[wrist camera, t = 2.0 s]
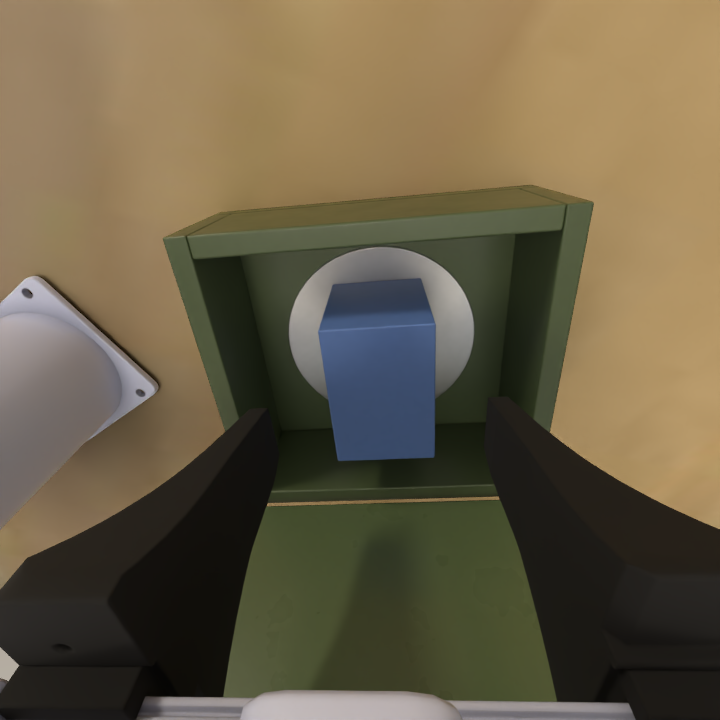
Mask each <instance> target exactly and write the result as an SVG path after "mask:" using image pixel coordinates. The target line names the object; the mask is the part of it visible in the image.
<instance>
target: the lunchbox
mask: <svg viewBox="0 0 720 720" xmlns="http://www.w3.org/2000/svg"><path fill="white" fill-rule="evenodd" d="M593 205H594V203H593V202H592V201H588V200H584V199H581V198H577V197H574V196H570V195H566V194H563V193H559V192H556V191H552V190H548V189H545V188H541V187H538V186H534V185H527V186H515V187H504V188H493V189H481V190H470V191H458V192H447V193H436V194H424V195H413V196H402V197H390V198H379V199H367V200H356V201H345V202H333V203H322V204H311V205H299V206H288V207H276V208H265V209H254V210H242V211H231V212H220V213H218V214H216V215H213V216H211V217H209V218H206V219H204V220H202V221H200V222H198V223H195V224H193V225H191V226H189V227H186V228H184V229H182V230H180V231H177V232H175V233H173V234H171V235H168V236H166V237H164V238H163V241H164V244H165V247H166V250H167V254H168V257H169V260H170V263H171V266H172V269H173V272H174V275H175V278H176V281H177V284H178V287H179V290H180V294H181V297H182V300H183V303H184V306H185V309H186V312H187V315H188V318H189V321H190V324H191V327H192V330H193V333H194V337H195V340H196V343H197V346H198V349H199V352H200V355H201V358H202V361H203V364H204V367H205V370H206V373H207V377H208V380H209V383H210V386H211V389H212V392H213V395H214V398H215V401H216V404H217V407H218V410H219V413H220V417H221V420H222V423H223V426H224V429H225V432H226V431H227V430H228V429H229V428H230V427H231V426H232V425H233V424H234V423H235V422H236V421H237V420H238V419H240V418H241V417H242V416H243V415H244V414H245V413H246V412H247V411H248V410H250V409H256V408H268V410H269V414H270V418H271V422H272V426H273V430H274V434H275V438H276V442H277V446H278V450H279V454H280V455H279V460H278V466H277V471H276V476H275V481H274V485H273V488H272V491H271V494H270V497H269V500H268V503H286V502H320V501H355V500H389V499H423V498H458V497H492V496H498V493H497V490H496V488H495V485H494V482H493V480H492V477H491V474H490V470H489V466H488V463H487V458H486V454H485V450H484V438H485V426H486V415H487V403H488V397H509V398H510V399H511V400H512V401H513V402H515V403H516V404H517V405H518V406H519V407H520V408H521V409H522V410H524V411H525V412H526V413H527V414H528V415H529V416H530V417H532V418H533V419H534V420H535V421H536V422H537V423H538V424H540V425H541V426H542V427H543V428H544V429H546V430H547V431H548V432H549V433H550V428H551V423H552V418H553V413H554V407H555V402H556V397H557V392H558V387H559V381H560V376H561V371H562V366H563V361H564V356H565V350H566V345H567V340H568V335H569V330H570V324H571V319H572V314H573V309H574V304H575V298H576V293H577V288H578V283H579V278H580V273H581V267H582V262H583V257H584V252H585V247H586V241H587V236H588V231H589V226H590V221H591V215H592V210H593ZM385 245H388V246H396V247H403V248H406V249H410V250H414V251H417V252H419V253H421V254H424V255H426V256H428V257H430V258H431V259H433V260H435V261H436V262H438V263H439V264H441V265H442V266H443V267H444V268H446V269H447V270H448V271H449V272H450V273H451V274H452V275H453V276H454V277H455V279H456V280H457V281H458V283H459V284H460V286H461V287H462V288H463V290H464V292H465V294H466V296H467V298H468V300H469V303H470V306H471V309H472V312H473V318H474V331H475V335H474V342H473V348H472V351H471V355H470V357H469V360H468V362H467V364H466V366H465V368H464V370H463V371H462V373H461V375H460V376H459V377H458V379H457V380H456V381H455V382H454V383H453V385H452V386H450V387H449V388H448V389H447V390H446V391H445V392H444V393H443V394H441V395H440V396H439V397H437V398H436V399H435V456H434V457H433V458H409V459H382V460H355V461H338V459H337V453H336V446H335V440H334V433H333V427H332V420H331V413H330V407H329V400H328V399H326V398H324V397H323V396H322V395H321V394H319V393H318V392H317V391H316V390H315V389H314V388H313V387H312V386H311V385H310V384H309V383H308V382H307V381H306V380H305V378H304V377H303V376H302V374H301V372H300V371H299V369H298V367H297V366H296V363H295V361H294V358H293V356H292V352H291V349H290V344H289V336H288V331H289V319H290V313H291V310H292V307H293V304H294V301H295V299H296V297H297V295H298V293H299V291H300V289H301V288H302V287H303V285H304V284H305V282H306V281H307V280H308V278H309V277H310V276H311V275H312V274H313V273H314V272H315V271H316V270H317V269H318V268H320V267H321V266H322V265H323V264H325V263H326V262H328V261H329V260H331V259H333V258H334V257H336V256H338V255H341V254H343V253H345V252H347V251H351V250H354V249H358V248H361V247H368V246H385Z"/></svg>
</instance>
